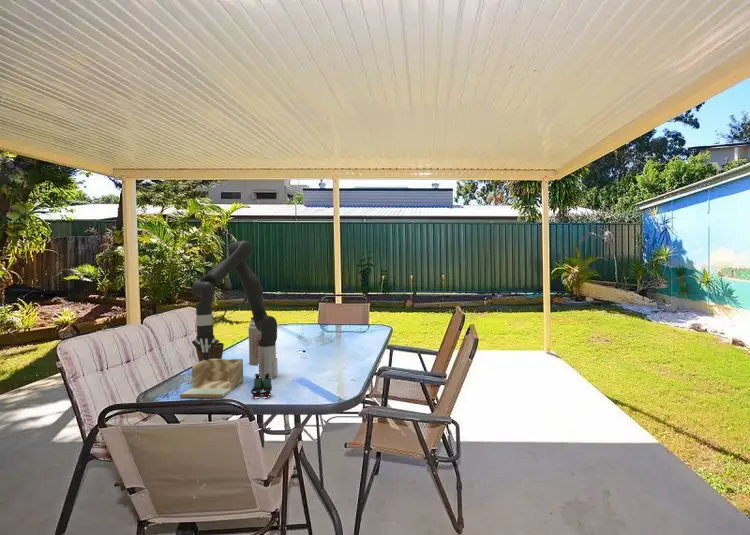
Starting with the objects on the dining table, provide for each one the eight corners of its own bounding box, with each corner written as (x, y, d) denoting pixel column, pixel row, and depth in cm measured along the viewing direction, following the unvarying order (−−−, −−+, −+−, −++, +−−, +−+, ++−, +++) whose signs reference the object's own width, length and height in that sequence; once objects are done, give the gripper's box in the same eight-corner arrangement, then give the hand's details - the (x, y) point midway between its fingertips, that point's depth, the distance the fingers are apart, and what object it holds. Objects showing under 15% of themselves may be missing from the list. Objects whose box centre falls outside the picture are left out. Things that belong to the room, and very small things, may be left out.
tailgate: (231, 388, 245) (221, 394, 233) (231, 391, 245) (221, 397, 233) (191, 388, 246) (180, 394, 234) (191, 391, 246) (180, 397, 234)
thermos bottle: (263, 364, 299) (262, 317, 298) (249, 365, 297) (248, 318, 296) (262, 361, 307) (261, 316, 306) (249, 362, 305) (248, 316, 304)
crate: (243, 381, 262) (242, 359, 261) (232, 390, 246) (231, 366, 246) (206, 381, 263) (205, 359, 263) (192, 390, 248) (192, 366, 247)
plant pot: (214, 368, 292) (214, 341, 292) (230, 372, 283) (229, 344, 282) (191, 373, 281) (190, 345, 280) (206, 377, 271) (205, 348, 271)
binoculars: (249, 380, 228) (253, 372, 238) (250, 402, 230) (254, 393, 240) (269, 379, 229) (272, 371, 239) (270, 401, 230) (273, 393, 240)
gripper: (221, 322, 242) (223, 357, 243) (194, 322, 243) (196, 358, 244) (215, 324, 234) (217, 361, 235) (187, 325, 235) (189, 362, 236)
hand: (206, 359), depth 240 cm, fingers closed
